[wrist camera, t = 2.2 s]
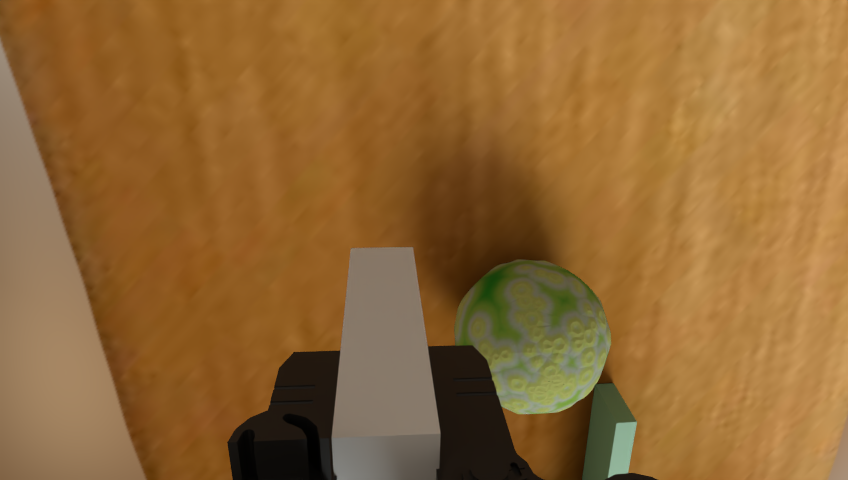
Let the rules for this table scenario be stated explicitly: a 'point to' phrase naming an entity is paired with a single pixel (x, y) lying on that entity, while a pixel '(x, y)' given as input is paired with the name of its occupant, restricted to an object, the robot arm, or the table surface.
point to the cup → (608, 435)
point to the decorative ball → (536, 334)
